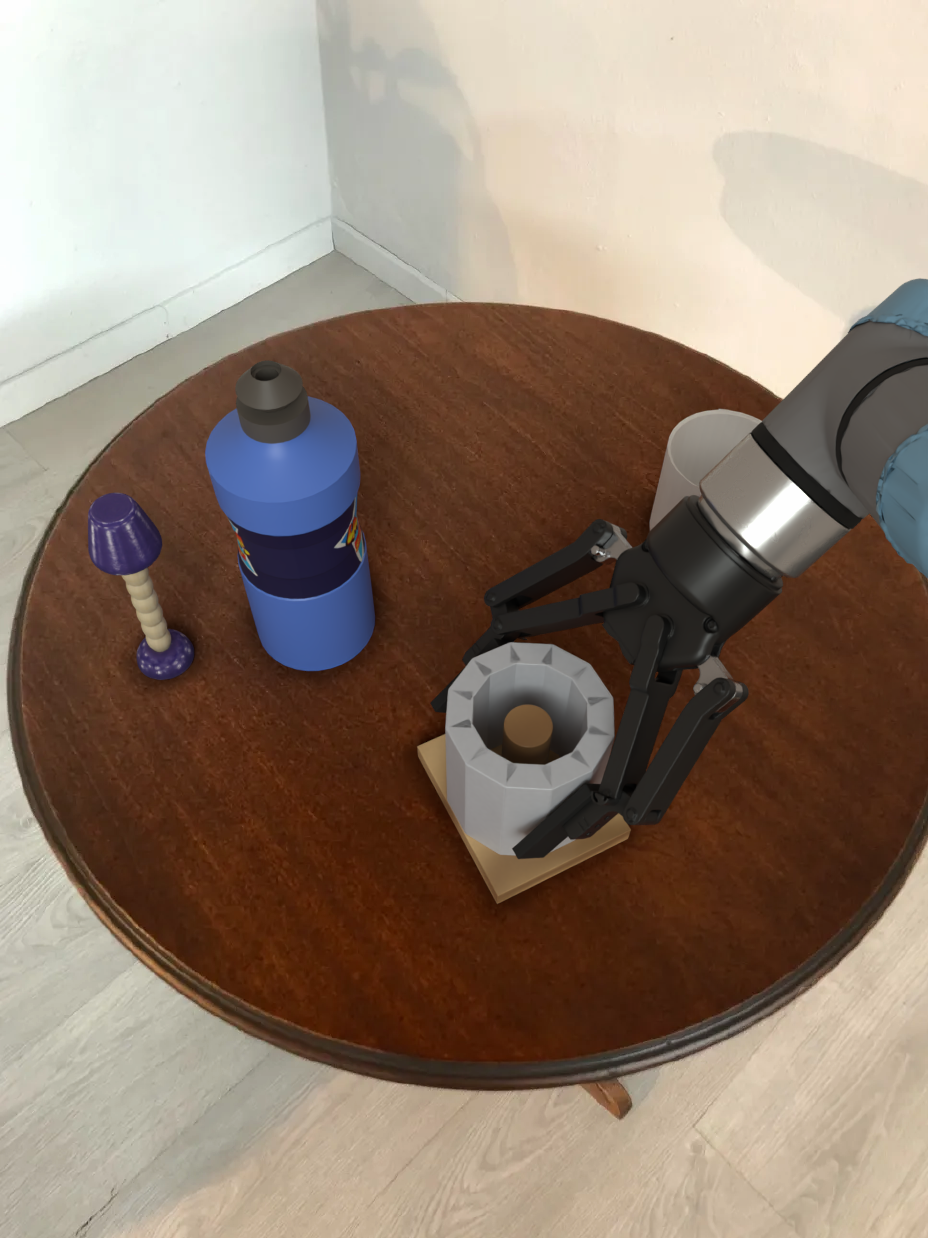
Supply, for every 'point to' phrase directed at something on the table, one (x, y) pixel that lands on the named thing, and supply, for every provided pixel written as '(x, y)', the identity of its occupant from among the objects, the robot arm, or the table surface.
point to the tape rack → (522, 745)
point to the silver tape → (476, 709)
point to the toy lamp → (137, 579)
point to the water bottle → (295, 518)
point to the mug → (696, 454)
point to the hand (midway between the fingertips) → (484, 778)
